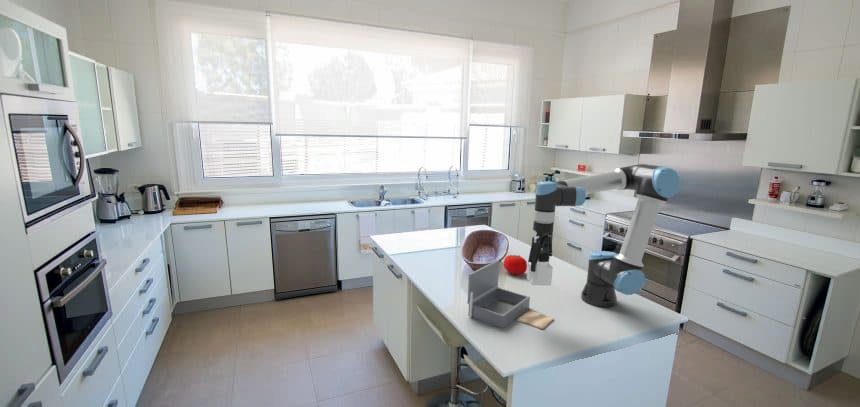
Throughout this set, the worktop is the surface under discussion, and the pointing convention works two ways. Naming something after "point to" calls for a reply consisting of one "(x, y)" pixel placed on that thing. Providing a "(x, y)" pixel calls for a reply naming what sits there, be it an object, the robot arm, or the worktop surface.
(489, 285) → the case
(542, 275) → the container
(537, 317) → the mat
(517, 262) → the tomato
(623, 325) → the worktop surface
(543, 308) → the worktop surface
